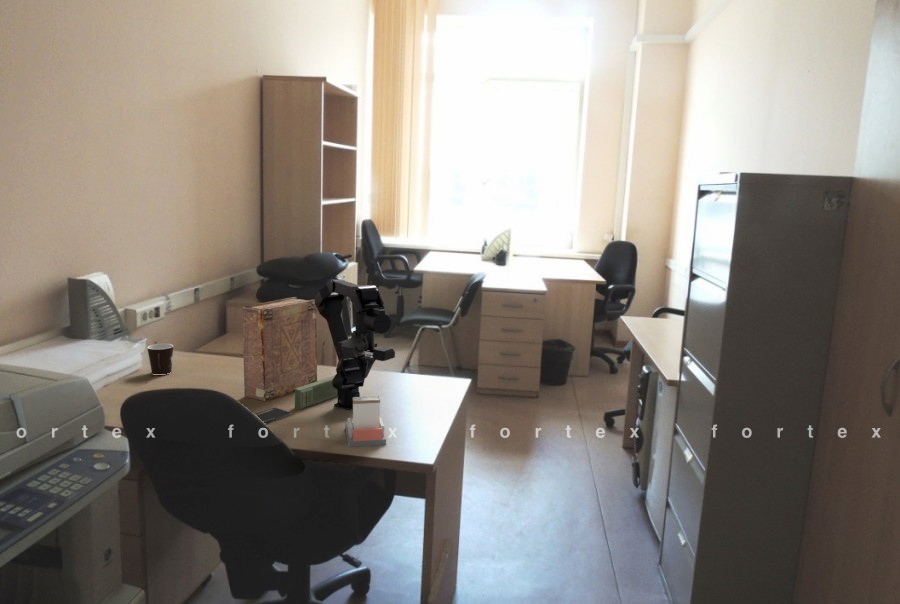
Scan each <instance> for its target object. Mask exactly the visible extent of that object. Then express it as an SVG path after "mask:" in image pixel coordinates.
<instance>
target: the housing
mask: <svg viewBox="0 0 900 604" xmlns="http://www.w3.org/2000/svg"><path fill="white" fill-rule="evenodd" d="M344 427H345V433H346V438H347V444H348V447H349V448H353V447H366V446H367V447H370V446H372V447H373V446H385V445H387V438H386V436H385V425H384V422H383V418H382V416H380V422H379V428H369V429H353V422H352V418H351V417H347V421H346V423H345V425H344Z"/></svg>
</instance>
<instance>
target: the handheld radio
mask: <svg viewBox="0 0 900 604" xmlns="http://www.w3.org/2000/svg"><path fill="white" fill-rule="evenodd" d="M334 377H335V375H332V376H330V377H327V378H324V379H323V378H322V379H321V380H317V382H314V383H311V384H308V385H305V386H302V387H299V388H296V389H295V391H294V408H295V409H296V408H297V410H301V409H304V407H305V408H306V406H307V407H311V406H312V404H313V405H315V404H318V403H320V401H321V402H324V401H326V400H329V399H331V398H334V396H335V397H338V390H337V389H336V388H334V387H333V383H332V380H333V378H334ZM323 400H324V401H323ZM317 402H318V403H317ZM314 403H315V404H314Z"/></svg>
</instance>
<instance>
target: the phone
mask: <svg viewBox="0 0 900 604" xmlns="http://www.w3.org/2000/svg"><path fill="white" fill-rule="evenodd" d="M255 414H256V415H257V416H258V417H259V418H260V419H261V420H262V421H264V423H266V424H265V425H268V424H271V423H273V421H274V422H277V421H280V420H282V418H283V419H284V418H289V417H291V412H290V411H287V410H285V409H281V408H277V407H270V408H269V409H266V410H265V409H264V410H263V411H260V412H257V413H255ZM279 419H280V420H279ZM276 420H277V421H276Z"/></svg>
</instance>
